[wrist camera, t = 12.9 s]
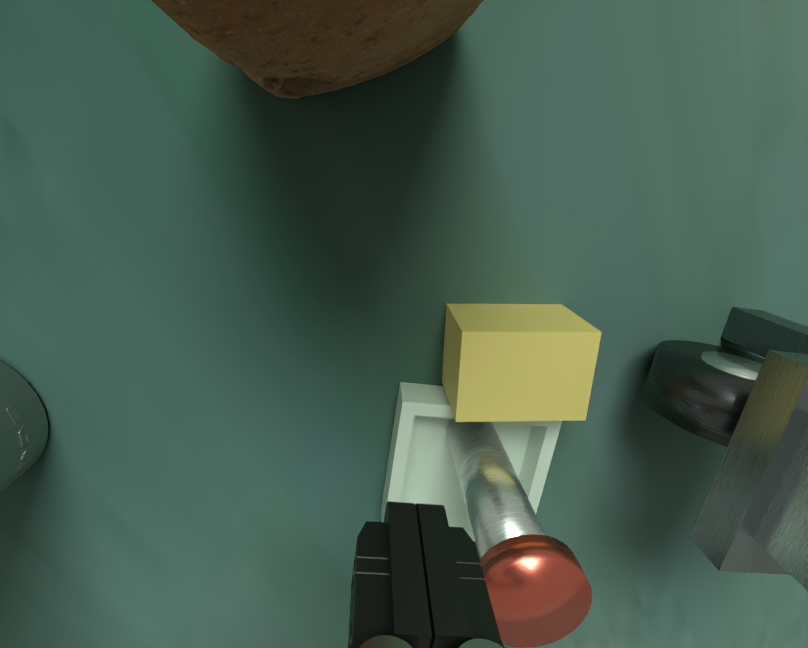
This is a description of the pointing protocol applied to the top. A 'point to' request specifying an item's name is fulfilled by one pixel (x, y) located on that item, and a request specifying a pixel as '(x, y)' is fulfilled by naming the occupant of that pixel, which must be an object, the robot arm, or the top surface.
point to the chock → (518, 362)
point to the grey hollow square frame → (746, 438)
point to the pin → (515, 545)
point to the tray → (432, 459)
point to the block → (318, 37)
